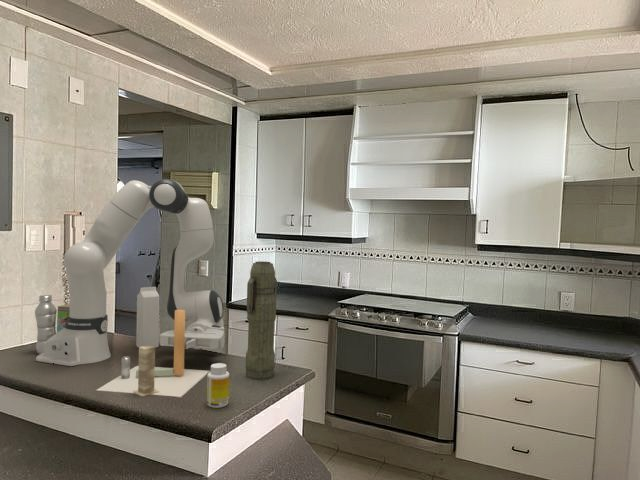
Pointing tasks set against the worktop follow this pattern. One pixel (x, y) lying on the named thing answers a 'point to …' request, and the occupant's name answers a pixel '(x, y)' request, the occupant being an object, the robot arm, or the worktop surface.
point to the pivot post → (125, 367)
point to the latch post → (146, 371)
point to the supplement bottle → (218, 386)
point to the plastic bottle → (45, 321)
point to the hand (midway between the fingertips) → (183, 345)
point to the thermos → (261, 321)
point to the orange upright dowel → (175, 347)
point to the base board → (158, 383)
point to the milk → (147, 317)
